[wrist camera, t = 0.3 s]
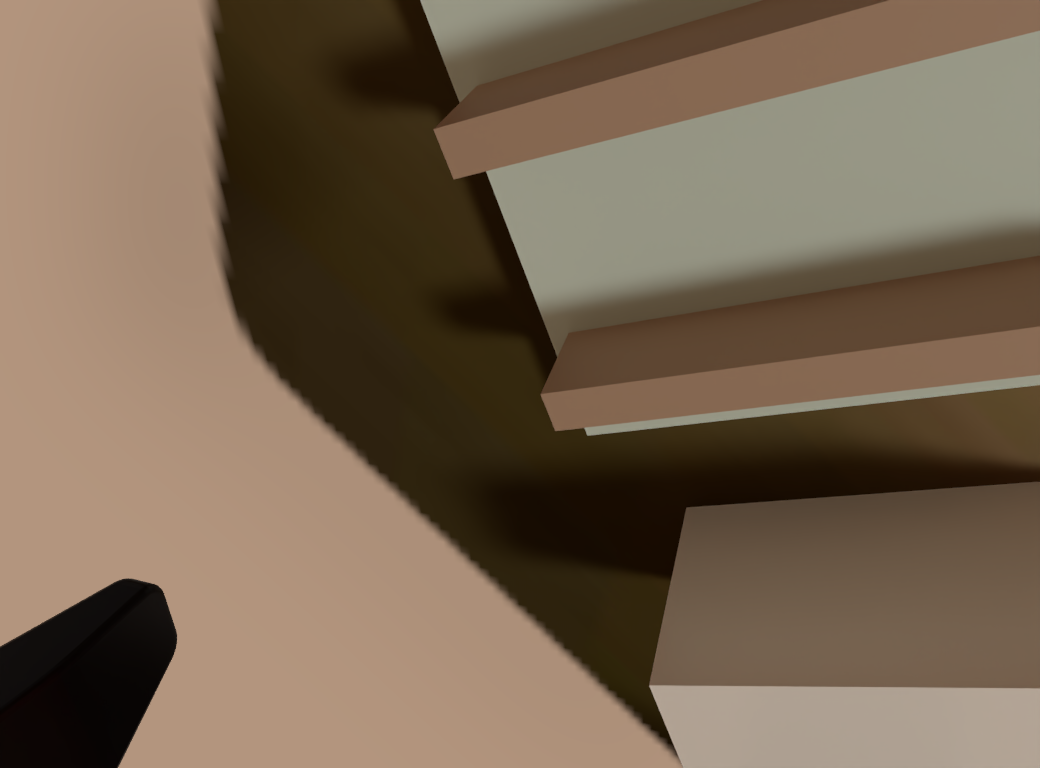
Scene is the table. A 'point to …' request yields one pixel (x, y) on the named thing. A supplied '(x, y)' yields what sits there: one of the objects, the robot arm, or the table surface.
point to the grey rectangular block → (856, 632)
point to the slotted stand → (759, 196)
